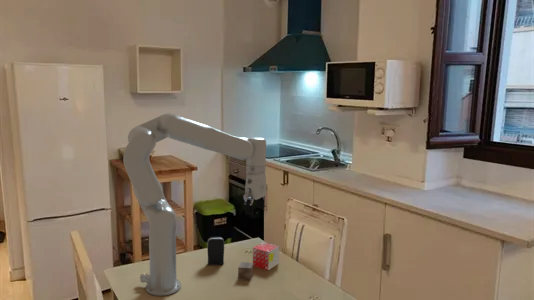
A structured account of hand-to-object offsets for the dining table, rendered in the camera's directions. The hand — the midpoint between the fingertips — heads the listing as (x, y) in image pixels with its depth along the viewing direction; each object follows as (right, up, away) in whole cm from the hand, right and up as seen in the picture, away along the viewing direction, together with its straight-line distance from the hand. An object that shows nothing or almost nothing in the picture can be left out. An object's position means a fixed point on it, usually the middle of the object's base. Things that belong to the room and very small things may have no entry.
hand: (254, 211), depth 168 cm
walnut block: (-4, -26, -1) cm, 26 cm away
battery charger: (-17, -24, +11) cm, 31 cm away
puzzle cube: (+4, -24, +11) cm, 27 cm away
